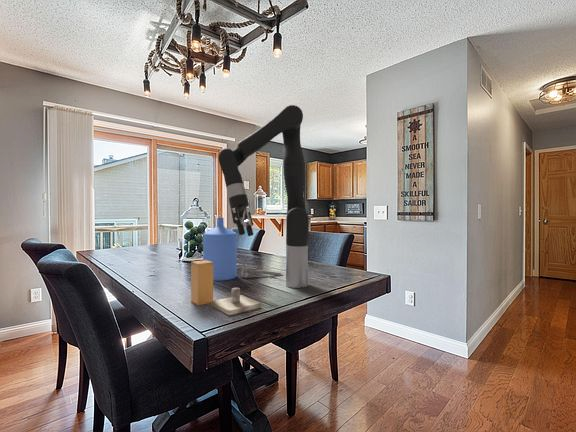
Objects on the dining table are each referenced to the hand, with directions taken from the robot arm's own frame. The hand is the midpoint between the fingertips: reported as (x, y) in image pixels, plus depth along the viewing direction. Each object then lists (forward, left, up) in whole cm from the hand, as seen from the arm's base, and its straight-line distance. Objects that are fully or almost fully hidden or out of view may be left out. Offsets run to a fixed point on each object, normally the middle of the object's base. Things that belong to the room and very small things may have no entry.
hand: (246, 235), depth 122 cm
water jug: (+13, -24, -22) cm, 35 cm away
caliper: (-7, -25, -23) cm, 35 cm away
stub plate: (+3, +19, -22) cm, 29 cm away
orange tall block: (+15, +13, -22) cm, 30 cm away
